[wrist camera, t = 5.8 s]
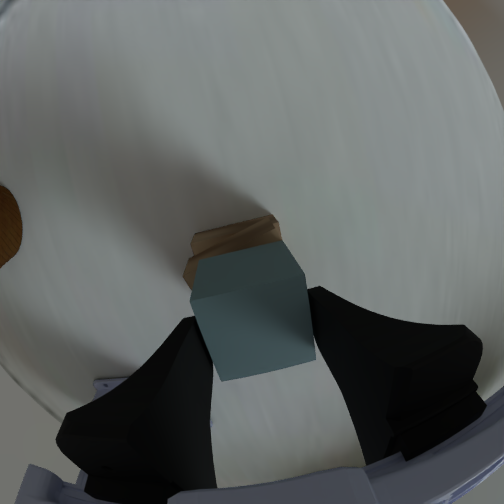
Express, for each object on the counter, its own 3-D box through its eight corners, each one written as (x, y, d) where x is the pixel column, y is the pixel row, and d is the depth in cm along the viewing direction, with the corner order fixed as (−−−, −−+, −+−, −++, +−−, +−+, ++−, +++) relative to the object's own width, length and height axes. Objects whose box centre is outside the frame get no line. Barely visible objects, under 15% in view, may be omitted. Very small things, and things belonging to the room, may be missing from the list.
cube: (221, 328, 14) (221, 381, 11) (199, 259, 13) (189, 300, 9) (295, 311, 14) (316, 359, 11) (282, 240, 13) (304, 273, 9)
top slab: (231, 323, 17) (232, 348, 15) (189, 258, 16) (182, 276, 13) (303, 288, 17) (315, 309, 15) (267, 216, 15) (275, 228, 13)
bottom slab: (216, 299, 19) (215, 318, 17) (195, 232, 18) (190, 243, 15) (285, 282, 19) (293, 299, 17) (271, 213, 18) (278, 222, 15)
